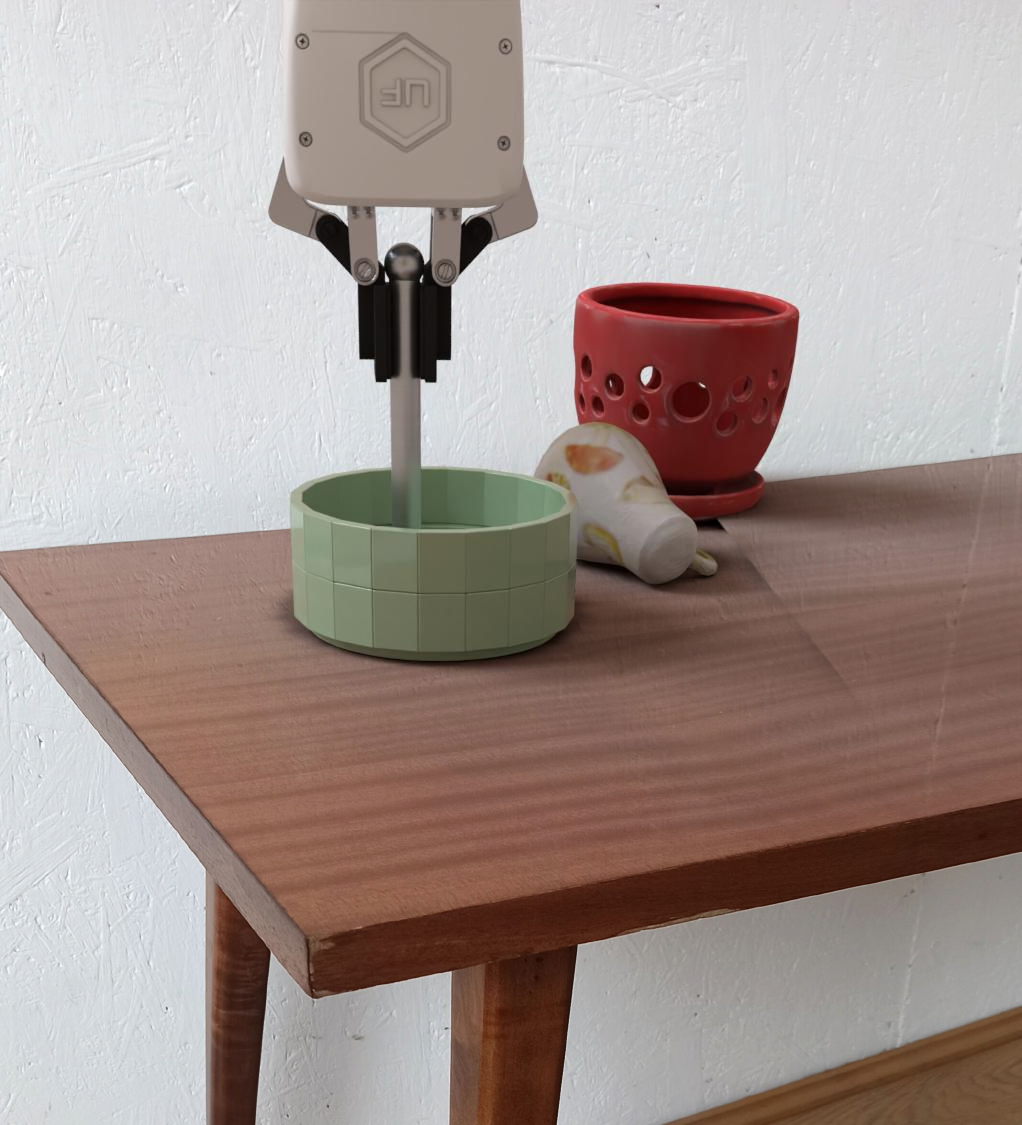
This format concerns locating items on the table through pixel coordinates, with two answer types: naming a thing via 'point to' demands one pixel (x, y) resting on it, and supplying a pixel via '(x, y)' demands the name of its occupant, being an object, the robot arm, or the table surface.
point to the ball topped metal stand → (405, 383)
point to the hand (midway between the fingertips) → (405, 374)
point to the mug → (623, 504)
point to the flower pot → (688, 382)
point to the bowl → (434, 563)
